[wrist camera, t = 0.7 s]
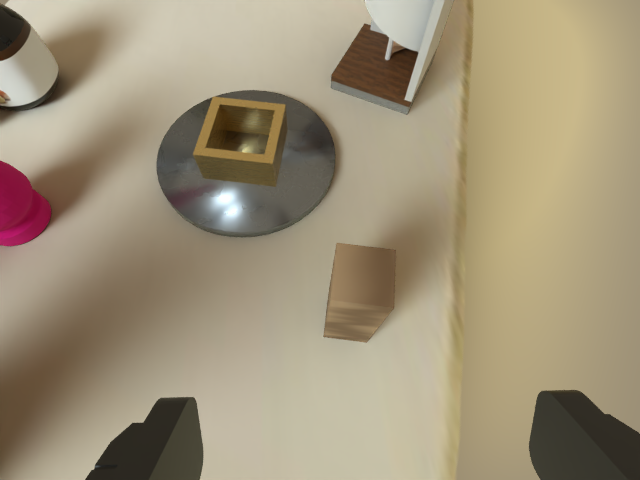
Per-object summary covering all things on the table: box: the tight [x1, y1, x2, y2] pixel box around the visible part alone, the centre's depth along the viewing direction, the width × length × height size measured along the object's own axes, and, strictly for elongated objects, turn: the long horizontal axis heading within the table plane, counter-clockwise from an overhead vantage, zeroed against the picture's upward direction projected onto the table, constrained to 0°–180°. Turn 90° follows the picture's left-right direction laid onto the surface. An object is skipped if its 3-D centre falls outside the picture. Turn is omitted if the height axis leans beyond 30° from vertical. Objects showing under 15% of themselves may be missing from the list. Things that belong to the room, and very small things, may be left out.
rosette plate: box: [157, 90, 335, 237], centre depth 40 cm, size 20×20×5 cm
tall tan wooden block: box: [324, 243, 396, 342], centre depth 29 cm, size 4×4×12 cm
